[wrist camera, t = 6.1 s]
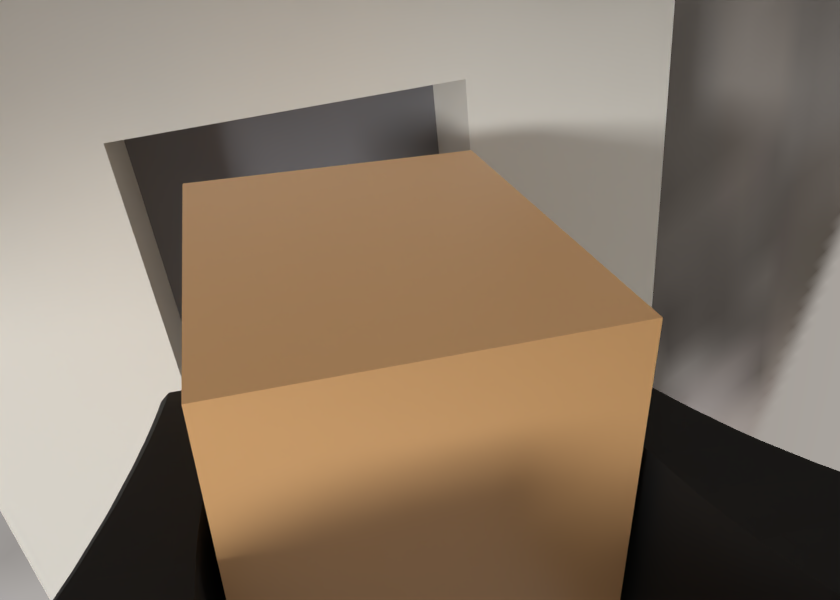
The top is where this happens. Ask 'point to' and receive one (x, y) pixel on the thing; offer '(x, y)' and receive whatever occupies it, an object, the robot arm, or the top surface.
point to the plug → (408, 387)
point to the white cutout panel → (263, 154)
